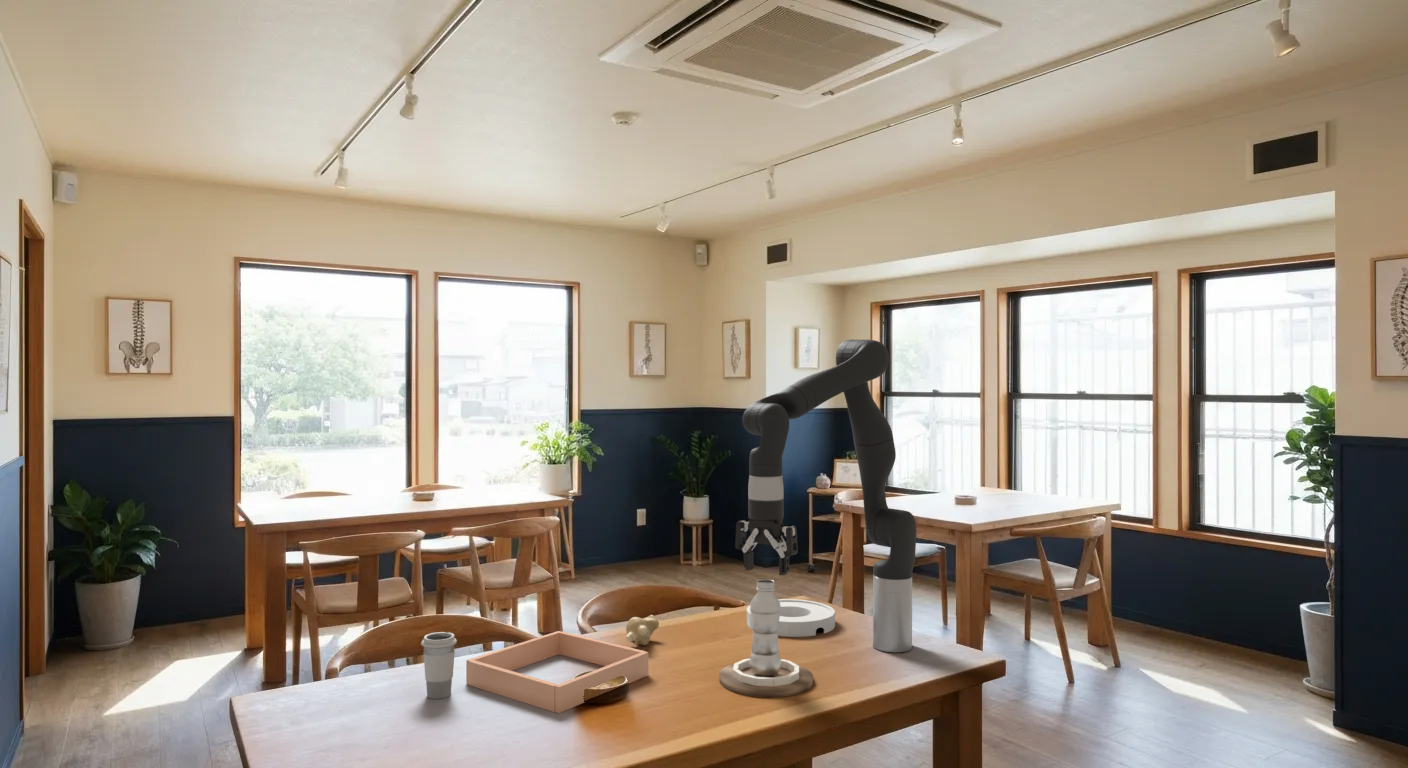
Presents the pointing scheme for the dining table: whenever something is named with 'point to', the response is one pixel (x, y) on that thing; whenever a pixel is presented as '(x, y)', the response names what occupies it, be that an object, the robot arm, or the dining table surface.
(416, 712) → the dining table surface
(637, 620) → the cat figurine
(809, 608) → the white round disc base
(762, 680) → the ring
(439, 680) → the cup
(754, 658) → the plastic bottle
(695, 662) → the dining table surface
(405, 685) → the dining table surface
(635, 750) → the dining table surface
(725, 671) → the round tan coaster
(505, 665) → the peach open square frame
